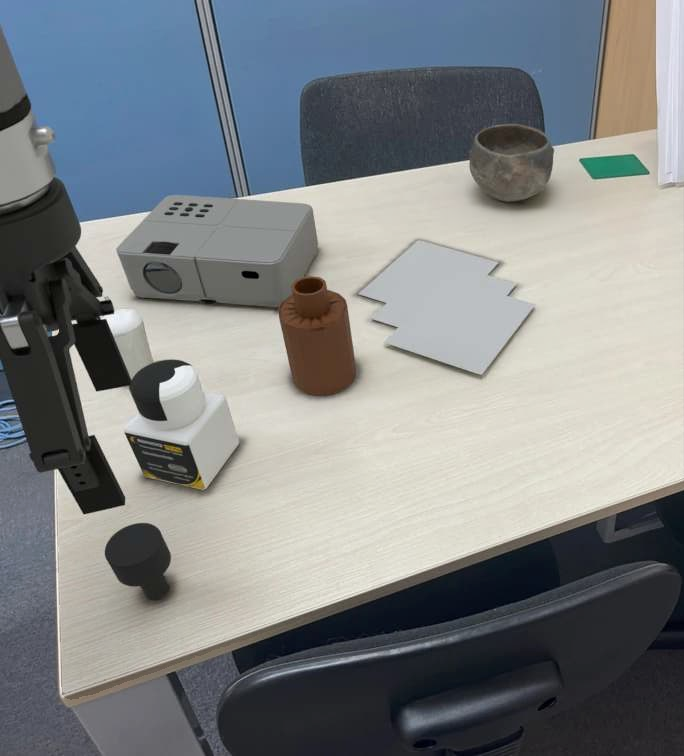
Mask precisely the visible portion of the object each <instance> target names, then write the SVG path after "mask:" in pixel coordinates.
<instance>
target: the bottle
mask: <svg viewBox="0 0 684 756" xmlns="http://www.w3.org/2000/svg"><path fill="white" fill-rule="evenodd" d="M291 288H292V293H293V295H291V296H289V297H288V298H287V299H285V300H284V301H283V302H282V303H281V305H280V307H279V308H278V309H277V314H278V319H279V323H280V327H281V333H282V338H283V341H284V347H285V351H286V356H287V361H288V365H289V369H290V373H291V378H292V382H293V384H294V387H296V388H297V390H299V391H300V392H302V393H304V394H306V395H309V396H315V397H317V396H318V397H325V396H332V395H334V394H337V393H340V392H343V391H344V390H346V389H347V388H348V387H349V386H351V385H352V384H353V382H354V381H355V379H356V376H357V364H356V358H355V351H354V344H353V337H352V336H353V335H352V330H351V321H350V315H349V307H348V303H347V299H346V298H345V297H344V296H342V295H341V294H340V293H338V292H336V291H334V290H330V289H328V286H327V282H326V280H325V279H323V278H321V277H320V276H315V275H314V276H313V275H309V276H304V277H303V278H300V279H298V280H296V281H295V282H294V283H293V284H292V285H291Z"/></svg>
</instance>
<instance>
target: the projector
mask: <svg viewBox="0 0 684 756" xmlns="http://www.w3.org/2000/svg"><path fill="white" fill-rule="evenodd" d="M314 214H315V213H314V209H313V206H312V205H310V204H308V203H301V202H288V201H273V200H258V199H244V198H242V199H240V198H228V197H215V196H200V195H187V194H186V195H185V194H170V195H167V196H165V197H164V198H163V199H162V200H160V201H159V203H157V205H156V206H155V207H154V208H153V209H152V210H151V212H149V213H148V214H147V215H146V217H145V218H143V220H142V221H140V223H139V224H138V225H137V226H136V227H135V228H134V229H133V230H132V231H131V232H130V233H129V234H128V236H127V237H125V238H124V240H123V241H122V242H120V243H119V245H118V246H116V254H117V256H118V258H119V261H120V264H121V266H122V269H123V273H124V274H125V277H126V280H127V282H128V286H129V289H130V290H131V291H132V292H133V295H135V296H136V297H138V298H141V299H144V298H147V299H148V298H151V299H162V300H174V301H175V300H176V301H177V300H178V301H190V302H200V301H201V302H202V303H204V304H210V305H211V304H214V303H217V304H228V305H229V304H231V305H242V306H243V305H245V306H257V307H271V308H272V307H273V308H278V309H279V307H280V305H281V303H282V302H283V301H284V300H285V299H287V298H288V297H289V296H291V295H293V293H292V288H291V285H292V284H293V283H294V282H295V281H296V280H298V279H300V278H303V277H305V275H306V274H307V272H308V269H309V267H310V266H311V264H312V262H313V260H314V258H315V257H316V255H317V253H318V251H319V239H318V234H317V227H316V220H315V215H314Z"/></svg>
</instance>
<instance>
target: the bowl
mask: <svg viewBox="0 0 684 756" xmlns="http://www.w3.org/2000/svg"><path fill="white" fill-rule="evenodd" d="M472 142H473V143H472V146H471V148H470V150H469V151H468V156H469V166H468V167H469V171H470V174H471V177H472V178H473V180H474V181H475V183H476V184H477V185H478V187H479V188H480V189H481V190H482V191H483V192H484V193H485V194H486V195H488V196H489V197H490V198H493V199H495V200H497V201H502V202H507V203H513V202H520V201H525V200H527V199H529V198H531V197H533V196H536V195H537V194H539V193H540V192H541V191H542V190H544V189H545V188H546V186H547V184H548V182H549V181H550V179H551V175H552V171H553V166H554V155H555V148H554V147H553V146H552V143H551V141H550V139H549V137H548V135H547V134H545V133H544V132H543V131H541V130H540V129H538V128H536V127H532V126H529V125H524V124H517V123H505V124H503V123H502V124H496V125H492V126H488V127H485V128H483V129H481V130H480V131H478V132H477V133H476V134H475V136H474V138H473V141H472Z"/></svg>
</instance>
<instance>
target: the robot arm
mask: <svg viewBox="0 0 684 756" xmlns="http://www.w3.org/2000/svg"><path fill="white" fill-rule="evenodd" d="M55 141H56V134H55V132H54V130H53V129H52V128H50V126H45V125H43V126H38V123H37V120H36V115H35V112H34V110H33V107H32V103H31V100H30V98H29V95H28V93H27V90H26V88H25V85H24V83H23V80H22V78H21V74H20V72H19V70H18V67H17V64H16V63H15V60H14V57H13V54H12V52H11V49H10V47H9V44H8V41H7V38H6V36H5V33H4V31H3V28H2V25H1V24H0V364H1V367H2V369H3V372H4V375H5V378H6V381H7V385H8V387H9V391H10V393H11V397H12V401H13V403H14V407H15V408H16V411H17V415H18V419H19V421H20V424H21V427H22V430H23V434H24V436H25V439H26V443H27V446H28V448H29V451H30V453H28V455H29V458H30V461H32V462H33V465H34V467H35V469H36V471H37V473H39V474H41V473H45V472H50V471H55V470H57V471H58V472H59V474H60V476H61V478H62V479H63V481H64V483H65V484H66V487H67V488H68V490H69V492H70V493H71V495H72V497H73V498H74V501H75V502H76V504H77V505H78V507H79V509H80V512H81V513H82V514H83V515H89V514H92V513H97V512H101V511H106V510H110V509H115V508H119V507H124V506H126V496H125V494H124V492H123V490H122V488H121V486H120V484H119V482H118V479H117V478H116V476H115V473H114V470H113V469H112V467H111V465H110V463H109V461H108V459H107V457H106V455H105V453H104V451H103V449H102V447H101V445H100V443H99V441H98V439H97V437H96V434H92V435H89V432H88V428H87V424H86V419H85V415H84V414H85V413H84V410H83V405H82V400H81V397H80V396H81V395H80V392H79V387H78V383H77V379H76V374H75V370H74V369H75V368H74V365H73V362H72V361H73V360H72V357H71V353H70V349H71V348H72V347H73V346H74V347H75V350H76V351H77V354H78V355H79V358H80V360H81V362H82V364H83V366H84V368H85V371H86V372H87V375H88V377H89V379H90V381H91V383H92V386H93V388H94V390H95V392H103V391H107V390H113V389H119V388H123V387H129V386H130V385H131V378H130V375H129V373H128V370H127V368H126V366H125V363H124V361H123V358H122V356H121V354H120V351H119V349H118V346H117V344H116V341H115V339H114V337H113V334H112V332H111V329H110V327H109V325H108V322H107V320H106V319H102V317H103V316H105V315H111V314H114V309H115V307H114V304H113V302H112V299H110V300H105V299H104V300H99V298H102V297H103V292H104V288H103V287H102V285H101V284H100V282H99V280H98V279H97V278H96V276H95V274H94V273H93V271H92V269H91V268H90V267H89V265H88V264H87V262H86V261H85V259H84V257H83V256H82V254H81V253H80V251H79V249H78V248H77V244H79V242H80V240H81V236H82V227H81V223H80V221H79V218H78V216H77V213H76V211H75V209H74V206H73V203H72V200H71V198H70V196H69V193H68V191H67V189H66V185H65V183H63V181H62V180H61V179H60V178H58V177H56V174H57V167H56V164H55V162H54V158H53V156H52V154H51V151H50V149H49V146H48V145H50V144H53V143H54V142H55ZM73 321H76V323H73ZM57 331H58V332H57ZM51 332H57V334H55V335H50V336H48V334H47V333H51Z"/></svg>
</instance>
